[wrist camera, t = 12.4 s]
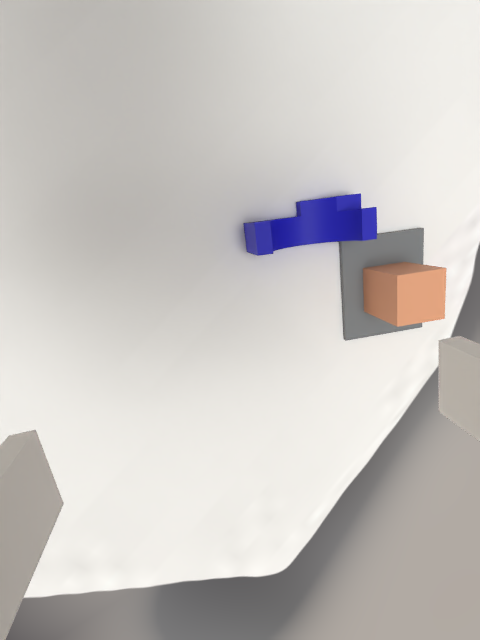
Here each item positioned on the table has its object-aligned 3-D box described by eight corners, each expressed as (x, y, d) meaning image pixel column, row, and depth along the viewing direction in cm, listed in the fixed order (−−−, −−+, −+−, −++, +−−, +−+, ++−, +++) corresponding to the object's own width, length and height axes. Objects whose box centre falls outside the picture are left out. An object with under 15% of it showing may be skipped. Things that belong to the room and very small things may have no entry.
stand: (339, 239, 40) (365, 241, 34) (420, 228, 41) (459, 227, 35) (343, 339, 43) (368, 356, 37) (418, 325, 44) (454, 340, 38)
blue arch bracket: (347, 196, 39) (376, 190, 33) (349, 237, 40) (376, 238, 34) (241, 209, 38) (252, 205, 32) (246, 251, 39) (257, 255, 33)
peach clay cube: (362, 268, 40) (397, 275, 34) (404, 261, 41) (446, 268, 35) (364, 311, 42) (397, 326, 35) (404, 304, 42) (444, 318, 36)
